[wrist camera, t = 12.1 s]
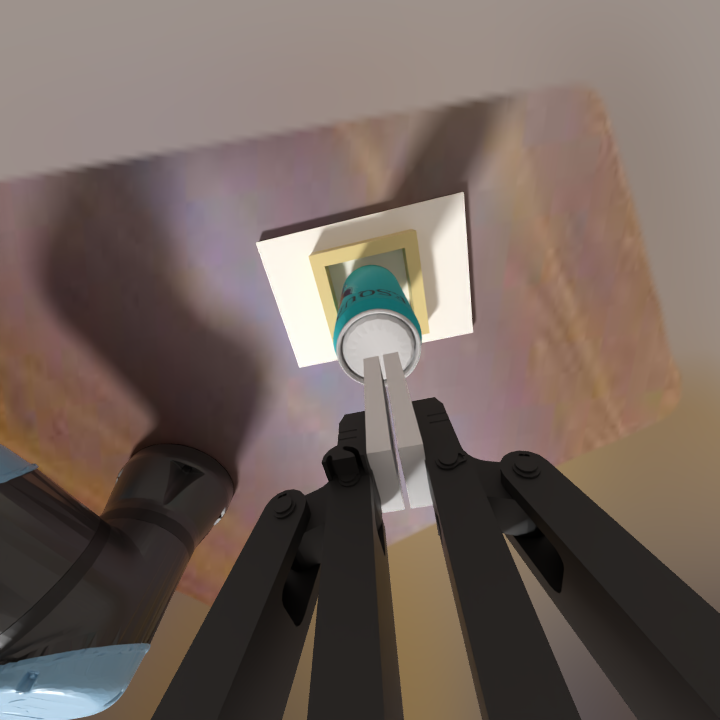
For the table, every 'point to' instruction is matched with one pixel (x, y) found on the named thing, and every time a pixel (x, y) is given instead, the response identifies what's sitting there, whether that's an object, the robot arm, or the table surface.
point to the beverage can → (375, 323)
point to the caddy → (373, 247)
